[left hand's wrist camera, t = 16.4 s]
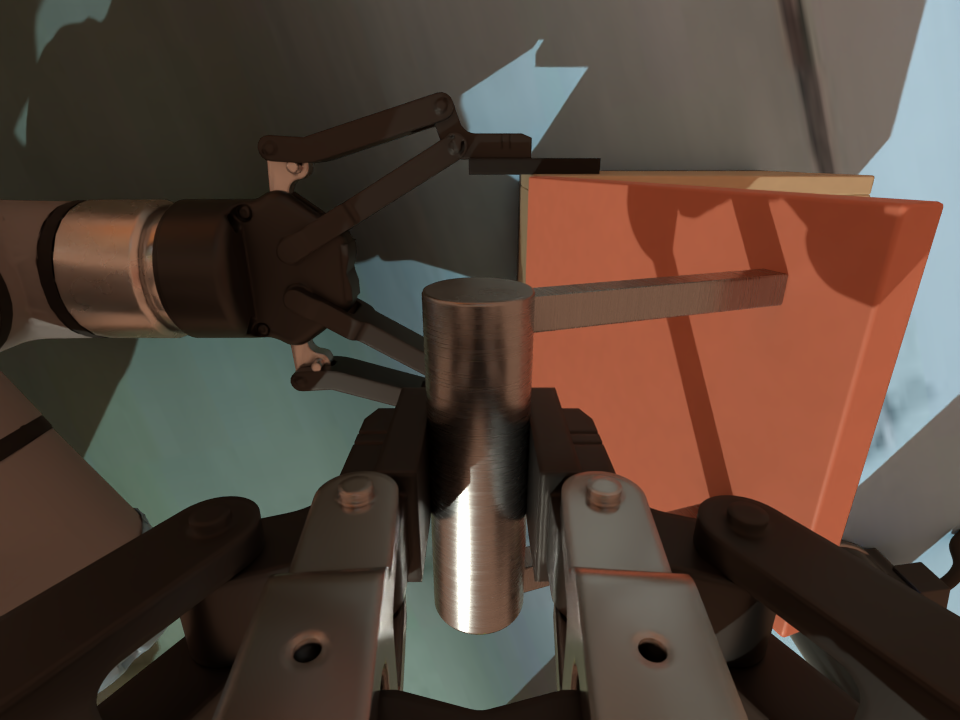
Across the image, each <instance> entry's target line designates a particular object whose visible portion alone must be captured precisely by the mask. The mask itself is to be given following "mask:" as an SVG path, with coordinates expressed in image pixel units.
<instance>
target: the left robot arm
mask: <svg viewBox="0 0 960 720" xmlns="http://www.w3.org/2000/svg"><path fill="white" fill-rule="evenodd" d="M430 518H431V495H430V470H429V446H428V421H427V406H426V387H418V388H402V389H401V392H400V395H399V398H398V401H397V404H396V407H395V408H378V409H377V410H376V411H374V412H373V413H372V414H371V415H369V416H368V417H367V418H365V419H364V422H363V424H362V426H361V428H360V431H359V434H358V435H357V437H356V440H355V444H354V445H353V446H352V449H351V451H350V453H349V456H348V458H347V460H346V462H345V465H344V467H343V469H342V471H341V474H340V476H337V477H335V478H333V479H331V480H329V481H328V482H326V483H325V484H323V485H322V486H321V487H320V488H319V489H318V491H317V492H316V494H315V496H314V498H313V501H312V504H311V506H309V507H306V508H304V509H301V510H298V511H294V512H290V513H286V514H281V515H276V516H271V517H266V518H261V515H260V510H259V507H258V505H257V504H256V503H255V502H253V501H252V500H250V499H247V498H243V497H236V496H227V497H218V498H213V499H209V500H205V501H202V502H199V503H197V504H194V505H192V506H190V507H188V508H186V509H184V510H182V511H181V512H179V513H177V514H176V515H174V516H172V517H170V518H169V519H167V520H165V521H164V522H162V523H160V524H158V525H157V526H155V527H153V528H151V529H150V530H148V531H146V532H145V533H143V534H141V535H139V536H138V537H136V538H134V539H133V540H131V541H129V542H127V543H126V544H124V545H122V546H121V547H119V548H117V549H115V550H114V551H112V552H110V553H109V554H107V555H105V556H103V557H102V558H100V559H98V560H97V561H95V562H93V563H91V564H90V565H88V566H86V567H85V568H83V569H81V570H79V571H78V572H76V573H74V574H72V575H71V576H69V577H67V578H66V579H64V580H62V581H60V582H59V583H57V584H55V585H54V586H52V587H50V588H48V589H47V590H45V591H43V592H42V593H40V594H38V595H36V596H35V597H33V598H31V599H30V600H28V601H26V602H24V603H23V604H21V605H19V606H18V607H16V608H14V609H12V610H11V611H9V612H7V613H6V614H4V615H2V616H0V720H960V616H958V615H956V614H954V613H953V612H951V611H949V610H948V609H947V604H948V598H949V593H950V590H951V589H952V588H954V587H955V586H956V585H957V584H958V583H959V582H960V531H958V532H957V533H956V534H955V535H954V536H953V537H952V539H951V540H950V543H949V549H950V553H951V556H952V559H953V565H952V567H951V569H950V570H949V571H948V572H947V573H946V574H945V575H944V576H943V577H942V578H940V579H939V578H938V577H937V576H936V575H935V574H934V573H933V572H932V571H931V570H929V569H928V568H927V567H926V566H925V565H924V564H923V563H922V562H917V563H910V564H903V565H896V566H893V565H892V564H891V563H890V562H889V561H888V560H887V559H886V558H885V557H884V556H883V555H882V554H881V553H880V552H879V551H878V550H877V549H876V548H870V549H863V548H861V547H860V546H858V545H856V544H853V543H850V542H847V541H841V542H840V546H838V545H836V544H834V543H833V542H831V541H829V540H827V539H826V538H824V537H822V536H821V535H819V534H817V533H815V532H814V531H812V530H810V529H808V528H807V527H805V526H803V525H802V524H800V523H798V522H796V521H795V520H793V519H791V518H790V517H788V516H786V515H784V514H783V513H781V512H779V511H778V510H776V509H774V508H772V507H770V506H768V505H766V504H764V503H762V502H759V501H756V500H753V499H750V498H746V497H741V496H734V495H719V496H714V497H711V498H708V499H706V500H704V501H703V502H702V503H701V504H700V506H699V508H698V514H697V519H696V518H691V517H686V516H681V515H676V514H671V513H667V512H663V511H659V510H656V509H653V508H650V507H649V504H648V501H647V498H646V496H645V494H644V492H643V490H642V489H641V488H640V487H639V486H638V485H637V484H635V483H634V482H632V481H631V480H629V479H627V478H625V477H623V476H620V475H617V474H616V472H615V470H614V468H613V465H612V463H611V461H610V459H609V456H608V454H607V452H606V449H605V447H604V445H602V440H601V438H600V435H599V434H598V431H597V428H596V426H595V424H594V421H593V419H592V418H591V417H589V416H588V415H587V414H585V413H584V412H583V411H582V410H580V409H579V408H562V407H561V404H560V401H559V398H558V395H557V392H556V389H555V387H532V389H531V415H530V424H529V450H528V476H527V502H526V518H527V525H528V533H529V541H530V549H531V557H532V565H533V572H534V580H535V582H549V584H550V590H551V596H552V600H553V602H554V612H553V622H554V642H555V662H556V682H557V691H556V692H552V693H549V694H545V695H541V696H537V697H533V698H530V699H526V700H522V701H518V702H515V703H511V704H507V705H503V706H499V707H496V708H492V709H488V710H472V709H468V708H464V707H461V706H457V705H453V704H449V703H445V702H442V701H438V700H434V699H430V698H427V697H423V696H419V695H415V694H411V693H408V692H404V691H403V683H404V663H405V643H406V622H407V612H406V597H405V592H406V586H407V582H422V577H423V570H424V562H425V555H426V548H427V540H428V533H429V526H430ZM776 614H777V615H778V616H779V617H781V618H782V619H783V620H784V621H786V622H787V623H788V624H790V625H791V626H792V627H794V628H795V629H796V630H798V631H799V632H798V633H795V634H792V635H789V636H790V637H791V639H792V640H793V642H794V643H795V645H796V646H797V648H798V650H799V651H800V653H801V654H802V656H803V657H804V659H805V660H806V661H805V660H804V659H803V658H802V657H800V656H799V655H798V654H797V653H795V652H794V651H793V650H792V649H790V648H789V647H788V646H786V645H785V644H784V643H783V642H781V641H780V640H779V639H778V638H776V637H775V636H774V635H773V634H771V631H772V628H773V624H774V620H775V616H776ZM179 617H180V619H181V623H182V626H183V630H184V634H185V637H184V638H182V639H181V640H180V641H179V642H177V643H176V644H175V645H174V646H172V647H171V648H170V649H168V650H167V651H166V652H165V653H163V654H162V655H161V656H160V657H158V658H157V659H156V660H155V661H153V662H152V663H151V664H150V665H148V666H147V667H146V668H145V669H143V670H142V671H141V672H140V673H138V674H137V675H136V676H134V677H133V678H132V679H131V680H129V681H128V682H127V683H126V684H124V685H123V686H122V687H121V688H119V689H118V690H117V691H116V692H114V693H113V694H112V695H111V696H109V697H108V698H107V699H106V700H104V701H103V702H102V703H101V704H99V705H98V706H97V704H96V699H97V694H98V691H99V689H100V686H101V685H102V683H103V681H104V680H105V678H106V677H107V675H108V674H109V673H110V672H111V671H112V670H113V668H114V667H115V666H117V665H118V664H119V663H120V662H121V661H123V660H124V659H125V658H127V657H128V656H129V655H131V654H132V653H133V652H134V651H136V650H137V649H138V648H140V647H141V646H142V645H144V644H145V643H146V642H148V641H149V640H150V639H152V638H153V637H154V636H156V635H157V634H158V633H160V632H161V631H162V630H164V629H165V628H166V627H168V626H169V625H170V624H172V623H173V622H174V621H175V620H177V619H178V618H179Z"/></svg>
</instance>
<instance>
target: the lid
mask: <svg viewBox="0 0 960 720" xmlns="http://www.w3.org/2000/svg"><path fill="white" fill-rule="evenodd" d="M942 210H943V204H942V203H940V202H936V201H921V200H906V199H890V198H875V197H860V196H845V195H829V194H814V193H799V192H784V191H768V190H753V189H738V188H723V187H707V186H692V185H677V184H662V183H646V182H631V181H616V180H601V179H585V178H570V177H555V176H531V177H529V190H528V222H527V254H526V284H525V283H522V282H519V281H515V280H509V279H502V278H490V277H468V278H455V279H448V280H443V281H439V282H435V283H433V284H430V285H428V286H426V287H425V288H424V289H423V292H422V310H423V334H424V358H425V382H426V406H427V421H428V446H429V470H430V495H431V527H432V551H433V575H434V599H435V606H436V609H437V611H438V613H439V615H440V616H441V618H442V619H443V620H444V621H445V622H446V623H447V624H448V625H449V626H451V627H452V628H454V629H456V630H458V631H461V632H464V633H468V634H476V635H483V634H490V633H494V632H497V631H500V630H502V629H504V628H505V627H507V626H508V625H510V624H511V623H512V622H513V621H514V620H515V619H516V618H517V616H518V615H519V613H520V611H521V609H522V606H523V598H524V592H528V591H531V590H535V589H539V588H542V587H546V586H549V585H550V584H549V582H535V580H534V572H533V565H532V557H531V549H530V546H527V547H525V546H526V520H527V518H526V502H527V476H528V450H529V424H530V415H531V389H532V387H555V389H556V392H557V395H558V398H559V401H560V404H561V407H562V408H579V409H580V410H582V411H583V412H584V413H585V414H587V415H588V416H589V417H591V418H592V419H593V421H594V424H595V426H596V428H597V431H598V434H599V435H600V438H601V440H602V445H604V447H605V449H606V452H607V454H608V456H609V459H610V461H611V463H612V465H613V468H614V470H615V472H616V474H617V475H620V476H623V477H625V478H627V479H629V480H631V481H632V482H634V483H635V484H637V485H638V486H639V487H640V488H641V489H642V490H643V492H644V494H645V496H646V498H647V501H648V504H649V507H650V508H653V509H656V510H659V511H663V512H667V513H671V514H676V515H681V516H686V517H691V518H696V519H697V514H698V508H699V506H700V504H701V503H702V502H703V501H704V500H706V499H708V498H711V497H714V496H719V495H734V496H741V497H746V498H750V499H753V500H756V501H759V502H762V503H764V504H766V505H768V506H770V507H772V508H774V509H776V510H778V511H779V512H781V513H783V514H784V515H786V516H788V517H790V518H791V519H793V520H795V521H796V522H798V523H800V524H802V525H803V526H805V527H807V528H808V529H810V530H812V531H814V532H815V533H817V534H819V535H821V536H822V537H824V538H826V539H827V540H829V541H831V542H833V543H834V544H836V545H838V546H840V542H841V539H842V536H843V532H844V529H845V526H846V523H847V519H848V516H849V513H850V510H851V506H852V503H853V500H854V497H855V493H856V490H857V487H858V484H859V480H860V477H861V474H862V471H863V467H864V464H865V461H866V458H867V454H868V451H869V448H870V444H871V441H872V438H873V435H874V431H875V428H876V425H877V422H878V418H879V415H880V412H881V409H882V405H883V402H884V399H885V396H886V392H887V389H888V386H889V383H890V379H891V376H892V373H893V369H894V366H895V363H896V360H897V356H898V353H899V350H900V347H901V343H902V340H903V337H904V334H905V330H906V327H907V324H908V321H909V317H910V314H911V311H912V308H913V304H914V301H915V298H916V295H917V291H918V288H919V285H920V281H921V278H922V275H923V272H924V268H925V265H926V262H927V259H928V255H929V252H930V249H931V246H932V242H933V239H934V236H935V233H936V229H937V226H938V223H939V220H940V216H941V213H942ZM773 629H774V630H775V631H776V632H777V633H778V634H779V635H780V636H782V637H787V636H789V635H792V634H795V633H798V632H799V631H798V630H796V629H795V628H794V627H792V626H791V625H790V624H788V623H787V622H786V621H784V620H783V619H782V618H781V617H779V616H778V615H777V614H776V616H775V620H774V624H773Z"/></svg>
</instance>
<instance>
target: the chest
mask: <svg viewBox="0 0 960 720" xmlns="http://www.w3.org/2000/svg"><path fill="white" fill-rule="evenodd" d="M531 176H555V177H570V178H585V179H601V180H616V181H631V182H646V183H662V184H677V185H692V186H707V187H723V188H738V189H753V190H768V191H784V192H799V193H814V194H829V195H845V196H860V197H870V195H869V194H870V193H871V189H872V185H873V181H874V176H873V175H850V174H826V173H802V172H779V171H760V170H641V171H600V173H599V174H533V175H520V179H519V218H518V258H517V281H519V282H522V283H525V284H526V254H527V222H528V190H529V177H531Z"/></svg>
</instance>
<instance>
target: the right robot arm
mask: <svg viewBox="0 0 960 720" xmlns="http://www.w3.org/2000/svg"><path fill="white" fill-rule="evenodd" d="M435 126H436V129H437V132H438V135H439V137H440V141H439V142H437V143H435V144H434V145H432V146H431V147H429V148H428V149H426V150H425V151H423V152H422V153H420V154H418V155H417V156H415V157H414V158H412V159H411V160H409V161H408V162H406V163H404V164H403V165H401V166H400V167H398V168H397V169H395V170H394V171H392V172H390V173H389V174H387V175H386V176H384V177H383V178H381V179H380V180H378V181H377V182H375V183H373V184H372V185H370V186H369V187H367V188H366V189H364V190H363V191H361V192H359V193H358V194H356V195H355V196H353V197H352V198H350V199H349V200H347V201H345V202H344V203H342V204H340V205H338V206H337V207H335V208H333V209H332V210H330V211H329V212H327V213H325V212H324V211H322V210H321V209H319V208H318V207H316V206H315V205H314V204H312V203H311V202H309V201H308V200H306V199H305V198H303V197H302V196H301V195H299V194H298V193H296V192H294V189H295V185H296V183H297V182H298V181H299V180H301V179H304V178H308V177H309V176H310V175H311V174H312V172H313V163H319V162H327V161H331V160H334V159H338V158H341V157H344V156H347V155H350V154H353V153H356V152H359V151H362V150H365V149H368V148H371V147H374V146H377V145H380V144H383V143H386V142H389V141H392V140H395V139H398V138H402V137H405V136H408V135H411V134H414V133H417V132H420V131H423V130H426V129H429V128H432V127H435ZM531 143H532V138H531V137H529V136H526V135H524V134H475V133H470V132H468V131H466V130H465V129H464V128H463V127H462V125H461V123H460V121H459V118H458V115H457V112H456V109H455V106H454V104H453V101H452V99H451V97H450V96H449V95H447V94H446V93H443V92H439V93H435V94H432V95H429V96H426V97H423V98H420V99H417V100H414V101H411V102H408V103H405V104H402V105H399V106H396V107H393V108H390V109H387V110H384V111H381V112H378V113H375V114H372V115H369V116H366V117H363V118H360V119H357V120H354V121H351V122H348V123H345V124H342V125H339V126H336V127H333V128H330V129H327V130H324V131H321V132H318V133H315V134H312V135H309V136H306V137H291V136H275V135H266V136H263V137H262V138H260V140H259V142H258V151H259V153H260V155H261V156H262V157H263V158H264V159H265V160H267V161H268V174H269V186H270V192H267V193H266V194H264V195H263V196H261V197H259V198H257V199H183V200H179V201H177V202H175V203H173V202H171V201H168V200H166V199H116V200H77V201H31V200H0V352H1V351H4V350H6V349H9V348H11V347H14V346H16V345H18V344H21V343H24V342H27V341H32V340H37V339H49V338H182V337H184V336H187V335H189V336H192V337H195V338H257V337H272V338H276V339H279V340H281V341H283V342H285V343H287V344H290V345H291V348H292V353H293V358H294V363H295V368H296V372H295V373H294V374H293V375H292V377H291V384H292V386H293V387H294V388H295V389H296V390H298V391H315V390H335V391H339V392H343V393H347V394H351V395H355V396H358V397H362V398H366V399H370V400H374V401H378V402H382V403H385V404H389V405H393V406H396V404H397V401H398V398H399V395H400V392H401V389H402V388H418V387H426V382H425V378H424V377H421V376H417V375H413V374H409V373H406V372H402V371H398V370H394V369H391V368H387V367H383V366H379V365H376V364H372V363H368V362H365V361H361V360H357V359H353V358H349V357H342V356H333V354H332V352H331V351H330V350H329V349H325V348H320V347H318V346H317V345H315V343H314V342H313V338H315V337H316V336H317V335H319V334H320V333H321V332H322V331H324V330H325V329H326V328H328V329H330V330H332V331H334V332H336V333H337V334H339V335H341V336H343V337H345V338H347V339H349V340H357V341H360V342H362V343H364V344H366V345H368V346H370V347H372V348H374V349H376V350H378V351H379V352H381V353H383V354H385V355H387V356H389V357H391V358H393V359H395V360H397V361H399V362H400V363H402V364H404V365H406V366H408V367H410V368H412V369H414V370H416V371H418V372H420V373H421V374H423V375H425V358H424V337H423V336H421V335H419V334H417V333H416V332H414V331H412V330H410V329H408V328H406V327H404V326H403V325H401V324H399V323H397V322H395V321H393V320H391V319H390V318H388V317H386V316H384V315H382V314H380V313H378V312H377V311H375V310H374V308H373V307H372V306H371V305H369V304H367V303H365V302H364V301H362V300H360V299H358V298H357V296H358V294H359V293H360V287H359V279H358V276H357V273H356V270H355V268H354V264H355V258H356V253H357V252H356V240H355V239H353V238H352V236H351V234H350V232H349V231H348V230H349V229H351V228H352V227H354V226H356V225H357V224H359V223H360V222H362V221H364V220H365V219H367V218H368V217H370V216H371V215H373V214H374V213H376V212H378V211H379V210H381V209H382V208H384V207H385V206H387V205H389V204H390V203H392V202H393V201H395V200H397V199H398V198H400V197H401V196H403V195H404V194H406V193H408V192H409V191H411V190H412V189H414V188H416V187H417V186H419V185H420V184H422V183H423V182H425V181H427V180H428V179H430V178H431V177H433V176H435V175H436V174H438V173H439V172H441V171H442V170H444V169H446V168H447V167H449V166H450V165H452V164H453V163H455V162H457V161H458V160H460V159H469V175H533V174H599V173H600V160H601V158H531ZM151 528H153V527H152V526H151V525H150V524H149V522H148V520H147V518H146V516H145V514H143V513H142V512H140V510H139V509H138V508H132V507H131V506H130V505H129V504H128V503H127V502H126V501H125V500H124V499H123V498H122V497H121V496H120V495H119V494H118V493H117V492H116V491H115V490H114V489H113V488H112V487H111V486H110V485H109V484H108V483H107V482H106V481H105V480H104V479H103V478H102V477H101V476H100V475H99V474H98V473H97V472H96V471H95V470H94V469H93V468H92V467H91V466H90V465H89V464H88V463H87V462H86V461H85V460H84V459H83V458H82V457H81V456H80V455H79V454H78V453H77V452H76V451H75V450H74V449H73V448H72V447H71V446H70V445H69V444H68V443H67V442H66V441H65V440H64V439H63V438H62V437H61V436H60V435H59V434H58V433H57V432H56V431H55V430H54V429H53V427H52V425H51V424H50V423H49V422H48V421H47V420H46V419H45V418H44V417H43V416H42V413H41V412H40V411H39V410H38V409H37V408H36V407H35V406H34V405H33V404H32V403H31V402H30V401H29V400H28V399H27V398H26V397H25V396H24V395H23V394H22V393H21V392H20V390H19V389H18V388H17V387H16V386H15V385H14V384H13V383H12V382H11V381H10V380H9V379H8V378H7V377H6V376H5V375H4V374H3V373H2V372H1V371H0V616H2V615H4V614H6V613H7V612H9V611H11V610H12V609H14V608H16V607H18V606H19V605H21V604H23V603H24V602H26V601H28V600H30V599H31V598H33V597H35V596H36V595H38V594H40V593H42V592H43V591H45V590H47V589H48V588H50V587H52V586H54V585H55V584H57V583H59V582H60V581H62V580H64V579H66V578H67V577H69V576H71V575H72V574H74V573H76V572H78V571H79V570H81V569H83V568H85V567H86V566H88V565H90V564H91V563H93V562H95V561H97V560H98V559H100V558H102V557H103V556H105V555H107V554H109V553H110V552H112V551H114V550H115V549H117V548H119V547H121V546H122V545H124V544H126V543H127V542H129V541H131V540H133V539H134V538H136V537H138V536H139V535H141V534H143V533H145V532H146V531H148V530H150V529H151ZM166 628H167V627H166ZM166 628H165V629H164V630H162V631H161V632H160V633H158V634H157V635H156V636H154V637H153V638H152V639H150V640H149V641H148V642H146V643H145V644H144V645H142V646H141V647H140V648H138V649H137V650H136V651H134V652H133V653H132V654H131V655H129V656H128V657H127V658H125V659H124V660H123V661H121V662H120V663H119V664H118V665H117V666H115V667H114V668H113V670H112V671H111V672H110V673H109V674H108V675H107V677H106V678H105V680H104V681H103V683H102V685H101V686H100V689H99V691H98V693H99V692H101V691H102V690H104V689H105V688H107V687H108V686H109V685H111V684H112V683H113V682H114V681H115V680H117V679H118V678H119V677H120V676H121V675H122V674H123V673H125V672H126V670H127V669H128V667H129V666H130V664H131V663H132V662H133V661H134V660H135V659H136V658H137V657H138V656H140V655H141V654H142V653H144V652H145V651H147V650H148V649H150V648H151V647H152V645H153V644H154V643H155V642H156V641H157V640H158V638H159V637H160V636H161V635H162V634H163V632H164V631H165V630H166Z"/></svg>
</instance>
